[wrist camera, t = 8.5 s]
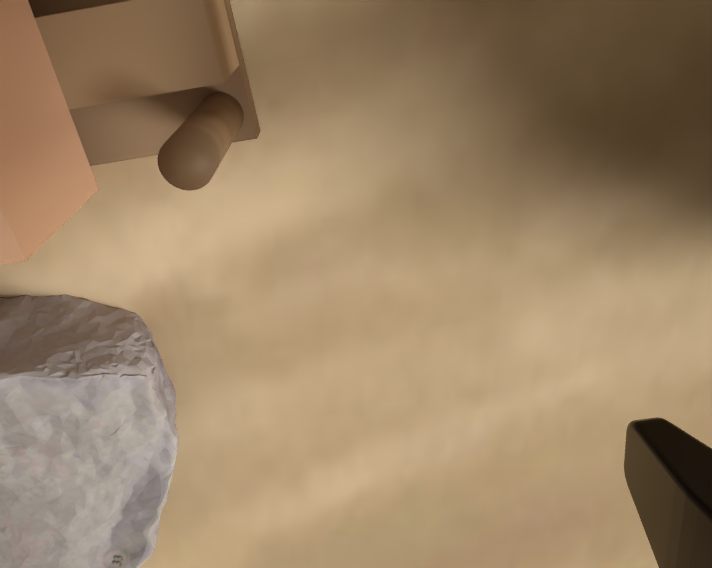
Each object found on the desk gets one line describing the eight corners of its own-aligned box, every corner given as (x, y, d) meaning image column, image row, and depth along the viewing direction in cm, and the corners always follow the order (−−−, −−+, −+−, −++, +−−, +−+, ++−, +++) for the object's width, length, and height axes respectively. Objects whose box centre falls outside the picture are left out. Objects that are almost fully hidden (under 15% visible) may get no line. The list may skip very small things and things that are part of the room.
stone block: (178, 274, 22) (-140, 274, 20) (174, 355, 18) (-224, 368, 16) (184, 493, 28) (-60, 514, 26) (181, 589, 24) (-106, 625, 22)
